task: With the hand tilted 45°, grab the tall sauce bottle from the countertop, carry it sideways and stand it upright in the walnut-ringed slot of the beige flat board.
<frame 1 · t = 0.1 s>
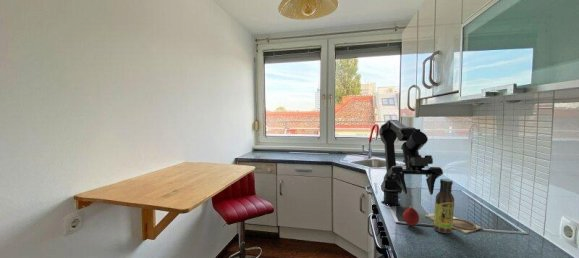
hand: (418, 194, 95), 15 cm above the countertop, tool tilted 35°, fingers open, 9 cm apart
beige flat board: (460, 225, 103), on the countertop
sauce bottle: (442, 231, 98), on the countertop
onion: (410, 226, 102), on the countertop
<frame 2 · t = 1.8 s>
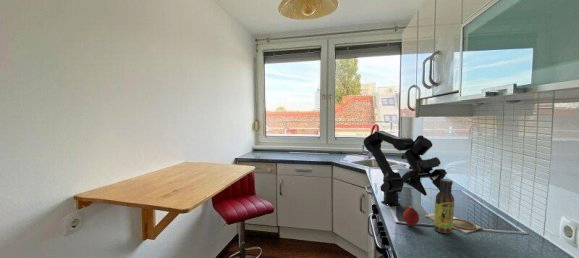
hand: (435, 194, 101), 13 cm above the countertop, tool tilted 45°, fingers open, 9 cm apart
nothing on the countertop moved.
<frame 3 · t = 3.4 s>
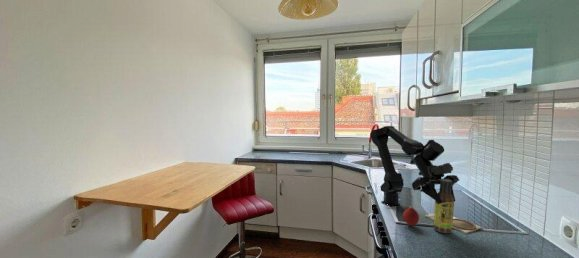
hand: (447, 202, 96), 12 cm above the countertop, tool tilted 45°, fingers closed on sauce bottle, 6 cm apart
sauce bottle: (442, 231, 98), on the countertop, touching gripper
everything else where it was.
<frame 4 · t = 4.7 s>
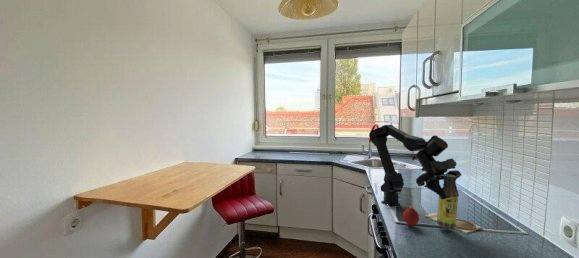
hand: (451, 197, 97), 13 cm above the countertop, tool tilted 45°, fingers closed on sauce bottle, 6 cm apart
sauce bottle: (446, 226, 99), point 1 cm above the countertop, touching gripper
everything else where it was.
when the fingers open (12 cm above the countertop, at t = 6.2 s): sauce bottle stays where it is, resting on beige flat board.
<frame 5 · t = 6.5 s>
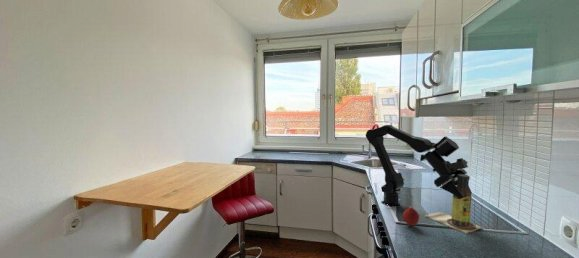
hand: (466, 195, 101), 13 cm above the countertop, tool tilted 45°, fingers open, 9 cm apart
sauce bottle: (460, 224, 103), resting on beige flat board
everything else where it was.
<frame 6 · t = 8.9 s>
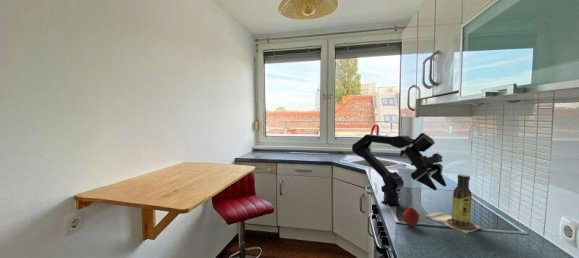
hand: (440, 187, 108), 14 cm above the countertop, tool tilted 45°, fingers open, 9 cm apart
nothing on the countertop moved.
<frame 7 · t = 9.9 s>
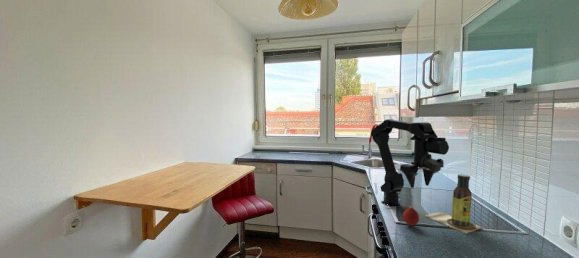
hand: (419, 186, 112), 13 cm above the countertop, tool pointing down, fingers open, 9 cm apart
nothing on the countertop moved.
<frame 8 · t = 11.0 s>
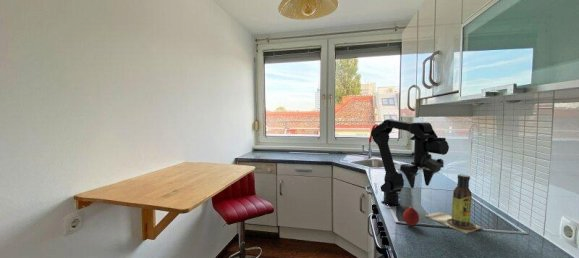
hand: (419, 186, 112), 13 cm above the countertop, tool pointing down, fingers open, 9 cm apart
nothing on the countertop moved.
at the end: sauce bottle 0.2 cm off-centre on the beige flat board, point 0.5 cm above the beige flat board's base; sauce bottle tilted 0°; the gripper is holding nothing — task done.
